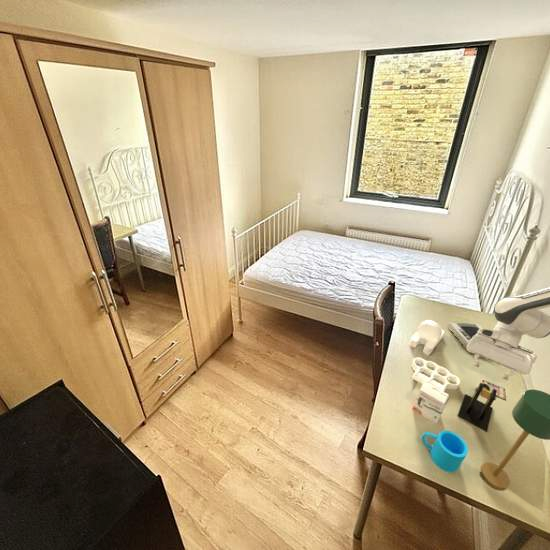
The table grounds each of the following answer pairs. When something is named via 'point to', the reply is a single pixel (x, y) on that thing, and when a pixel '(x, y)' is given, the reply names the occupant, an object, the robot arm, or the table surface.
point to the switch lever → (485, 391)
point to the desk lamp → (533, 420)
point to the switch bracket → (477, 409)
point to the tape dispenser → (427, 336)
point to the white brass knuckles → (433, 374)
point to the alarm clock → (464, 331)
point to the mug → (447, 450)
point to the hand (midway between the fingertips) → (490, 372)
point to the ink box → (430, 402)
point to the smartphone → (500, 390)
